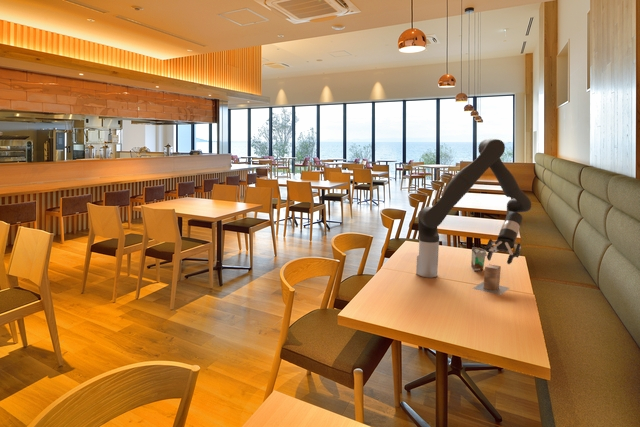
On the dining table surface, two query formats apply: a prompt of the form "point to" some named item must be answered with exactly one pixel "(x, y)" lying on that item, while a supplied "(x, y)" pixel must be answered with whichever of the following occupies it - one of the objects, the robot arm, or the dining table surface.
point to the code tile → (498, 291)
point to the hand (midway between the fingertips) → (498, 261)
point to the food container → (478, 259)
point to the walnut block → (492, 277)
